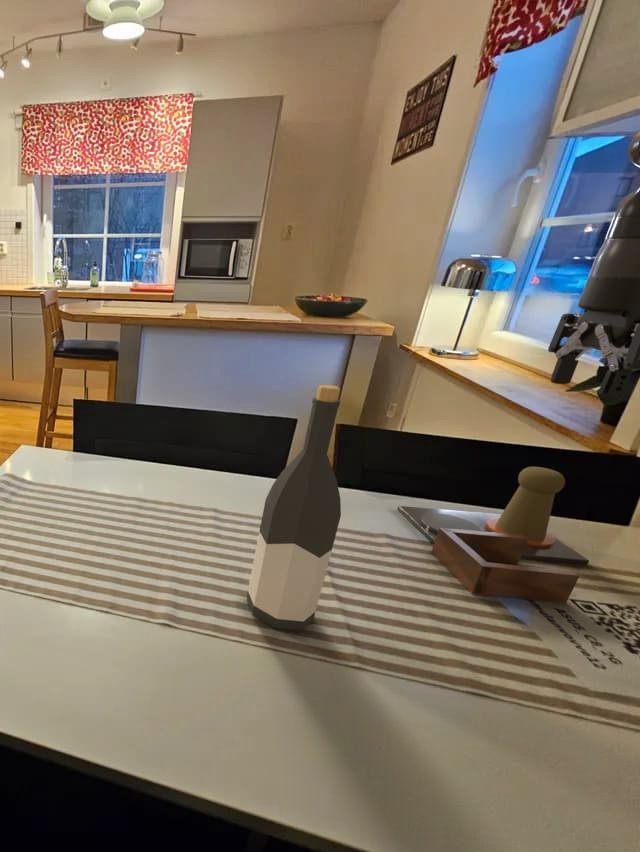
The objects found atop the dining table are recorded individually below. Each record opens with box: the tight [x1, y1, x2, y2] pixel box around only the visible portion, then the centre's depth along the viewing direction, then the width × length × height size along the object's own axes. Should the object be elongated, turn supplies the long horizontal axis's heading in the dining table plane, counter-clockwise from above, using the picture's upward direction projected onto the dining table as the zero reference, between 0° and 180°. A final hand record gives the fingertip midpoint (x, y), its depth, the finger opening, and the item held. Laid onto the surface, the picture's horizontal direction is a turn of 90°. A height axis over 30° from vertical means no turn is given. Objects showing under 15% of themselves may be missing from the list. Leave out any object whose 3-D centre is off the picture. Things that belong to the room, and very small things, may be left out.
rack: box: [430, 528, 580, 605], centre depth 71 cm, size 11×10×4 cm
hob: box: [397, 505, 590, 566], centre depth 82 cm, size 20×14×1 cm
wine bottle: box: [246, 384, 342, 632], centre depth 59 cm, size 8×8×30 cm
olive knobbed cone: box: [496, 466, 566, 541], centre depth 79 cm, size 6×6×11 cm
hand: (582, 389), depth 73 cm, fingers open, 8 cm apart
